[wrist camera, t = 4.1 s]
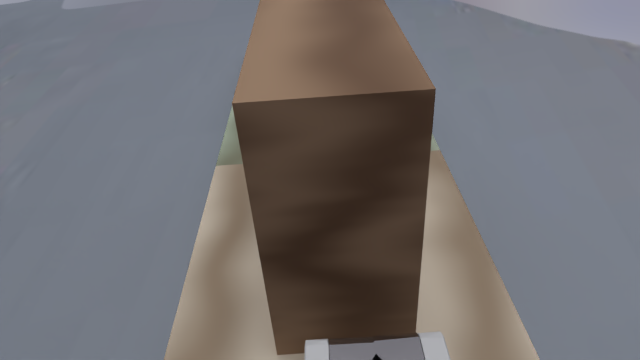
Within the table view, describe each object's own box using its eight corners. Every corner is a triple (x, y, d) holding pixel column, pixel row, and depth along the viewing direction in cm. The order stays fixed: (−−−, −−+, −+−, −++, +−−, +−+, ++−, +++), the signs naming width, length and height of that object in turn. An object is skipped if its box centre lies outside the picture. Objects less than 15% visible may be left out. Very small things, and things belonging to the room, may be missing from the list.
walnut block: (277, 354, 21) (232, 103, 14) (285, 176, 32) (262, -9, 26) (414, 345, 21) (435, 88, 14) (373, 170, 32) (374, -17, 26)
